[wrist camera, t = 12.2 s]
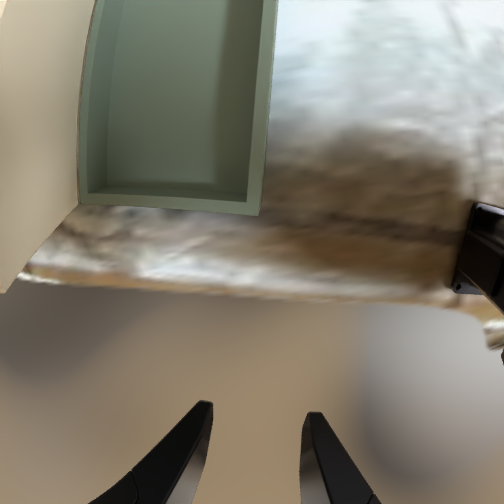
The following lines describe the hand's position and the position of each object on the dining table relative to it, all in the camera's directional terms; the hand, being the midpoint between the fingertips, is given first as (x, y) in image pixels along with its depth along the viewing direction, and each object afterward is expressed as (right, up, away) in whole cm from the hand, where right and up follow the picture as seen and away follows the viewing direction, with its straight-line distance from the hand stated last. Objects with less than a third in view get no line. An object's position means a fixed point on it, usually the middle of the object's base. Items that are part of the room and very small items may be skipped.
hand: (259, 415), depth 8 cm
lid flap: (-7, +15, -2) cm, 17 cm away
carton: (-4, +17, +5) cm, 19 cm away
